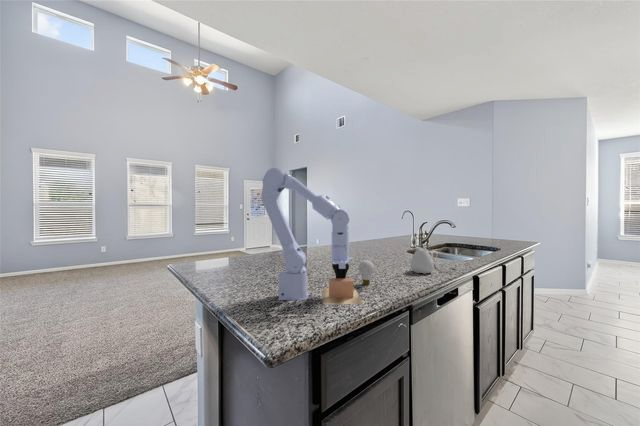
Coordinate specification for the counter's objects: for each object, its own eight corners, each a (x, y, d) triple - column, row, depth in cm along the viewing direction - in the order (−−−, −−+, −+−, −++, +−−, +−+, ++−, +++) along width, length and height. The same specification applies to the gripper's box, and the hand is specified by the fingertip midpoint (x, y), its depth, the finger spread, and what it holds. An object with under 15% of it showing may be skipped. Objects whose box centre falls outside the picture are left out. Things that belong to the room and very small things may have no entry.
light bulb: (374, 288, 101) (373, 261, 101) (358, 287, 102) (357, 261, 102) (374, 284, 107) (373, 259, 107) (359, 283, 108) (358, 258, 108)
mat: (323, 306, 82) (323, 304, 82) (322, 289, 100) (322, 287, 100) (362, 306, 82) (362, 304, 82) (354, 289, 100) (354, 287, 100)
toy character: (433, 270, 129) (433, 245, 129) (434, 275, 120) (433, 248, 120) (411, 269, 133) (410, 245, 133) (409, 273, 124) (409, 247, 123)
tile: (329, 298, 88) (328, 281, 87) (328, 294, 90) (328, 278, 89) (353, 297, 88) (353, 281, 87) (352, 294, 90) (352, 278, 89)
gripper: (355, 248, 83) (355, 292, 83) (349, 242, 98) (350, 280, 98) (332, 248, 83) (332, 292, 83) (330, 243, 98) (330, 280, 98)
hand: (340, 285), depth 91 cm, fingers closed
